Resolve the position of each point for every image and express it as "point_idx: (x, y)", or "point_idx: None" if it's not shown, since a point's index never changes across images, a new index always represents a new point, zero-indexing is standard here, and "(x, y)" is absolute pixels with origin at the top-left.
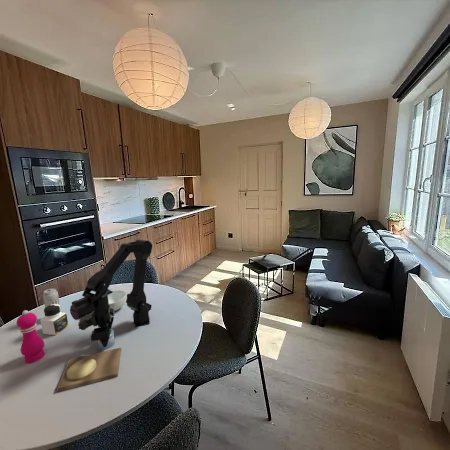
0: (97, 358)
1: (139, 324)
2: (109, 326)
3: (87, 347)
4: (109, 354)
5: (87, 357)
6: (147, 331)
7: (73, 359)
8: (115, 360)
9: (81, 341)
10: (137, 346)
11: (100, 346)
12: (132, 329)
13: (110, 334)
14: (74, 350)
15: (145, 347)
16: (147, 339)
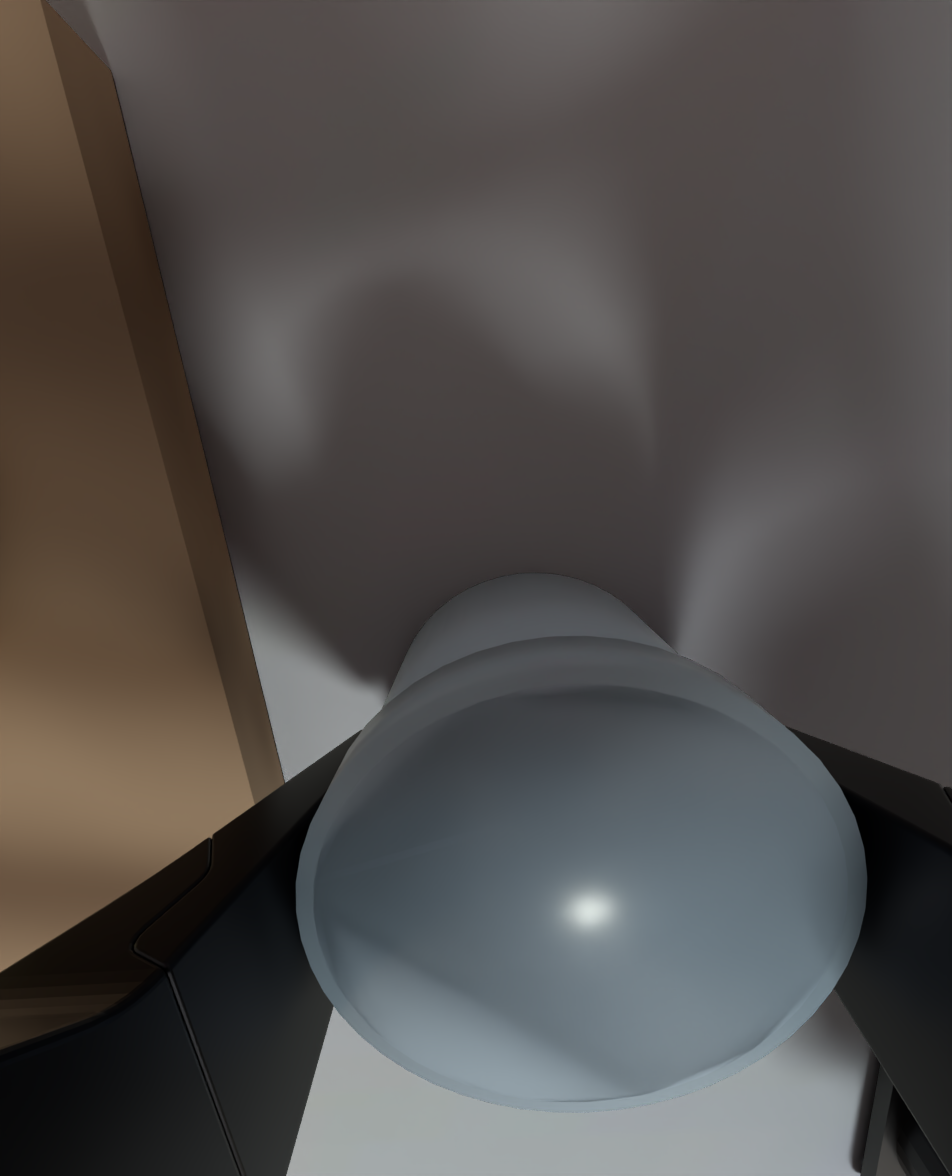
0: (51, 688)
1: (901, 1109)
2: (948, 1093)
3: (554, 334)
4: (147, 852)
5: (90, 482)
6: (667, 1161)
7: (26, 137)
8: (3, 951)
9: (879, 62)
10: (360, 1084)
11: (410, 654)
12: (823, 1003)
13: (473, 1061)
14: (531, 3)
15: (320, 1153)
16: (479, 1165)
